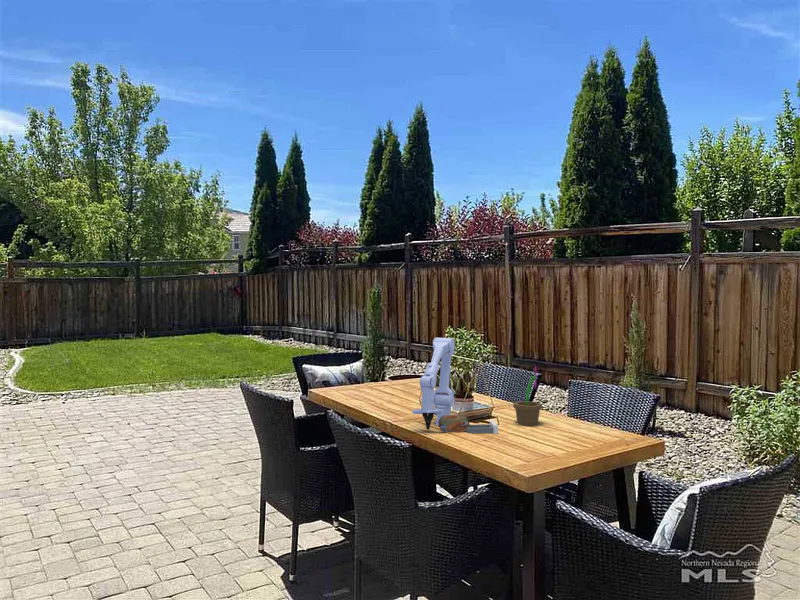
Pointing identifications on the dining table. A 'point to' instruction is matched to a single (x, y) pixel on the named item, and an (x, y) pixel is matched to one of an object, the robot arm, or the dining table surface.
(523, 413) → the flowerpot
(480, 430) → the bay
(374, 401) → the dining table surface
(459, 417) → the tin
